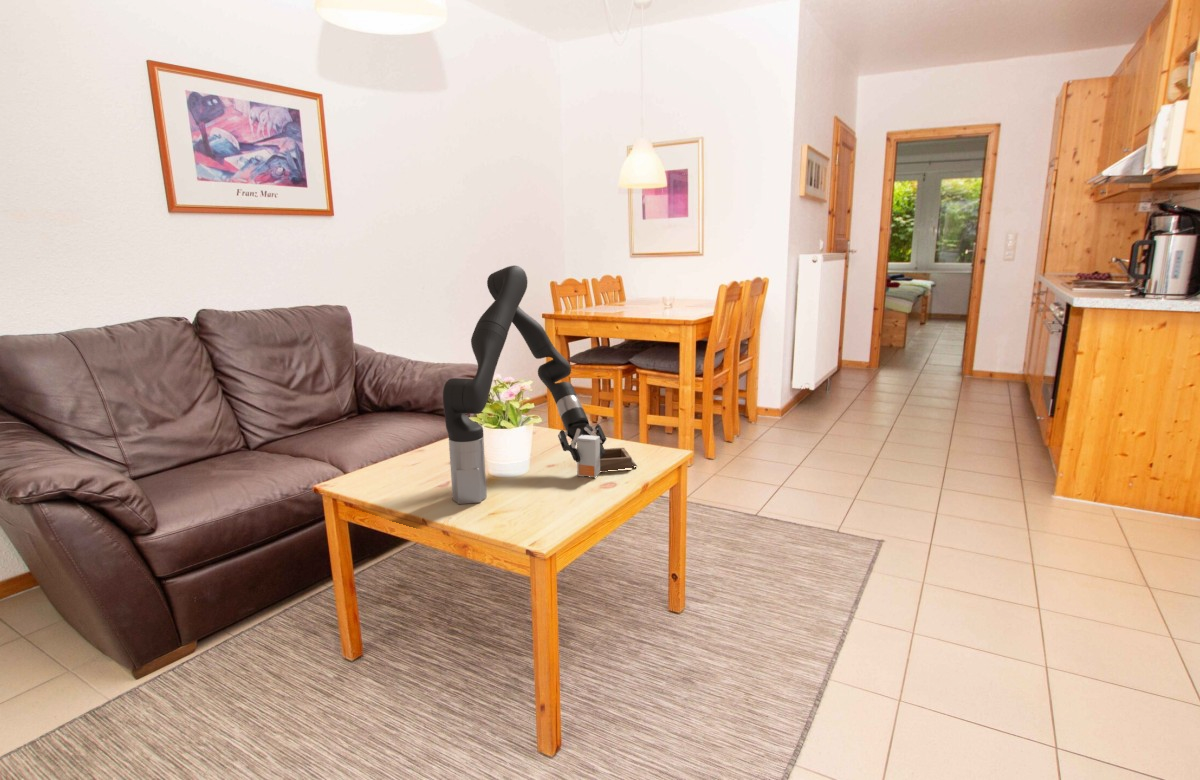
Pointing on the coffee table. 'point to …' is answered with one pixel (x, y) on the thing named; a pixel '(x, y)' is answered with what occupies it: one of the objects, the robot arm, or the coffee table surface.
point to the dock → (616, 459)
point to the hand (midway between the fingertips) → (590, 458)
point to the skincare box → (588, 455)
